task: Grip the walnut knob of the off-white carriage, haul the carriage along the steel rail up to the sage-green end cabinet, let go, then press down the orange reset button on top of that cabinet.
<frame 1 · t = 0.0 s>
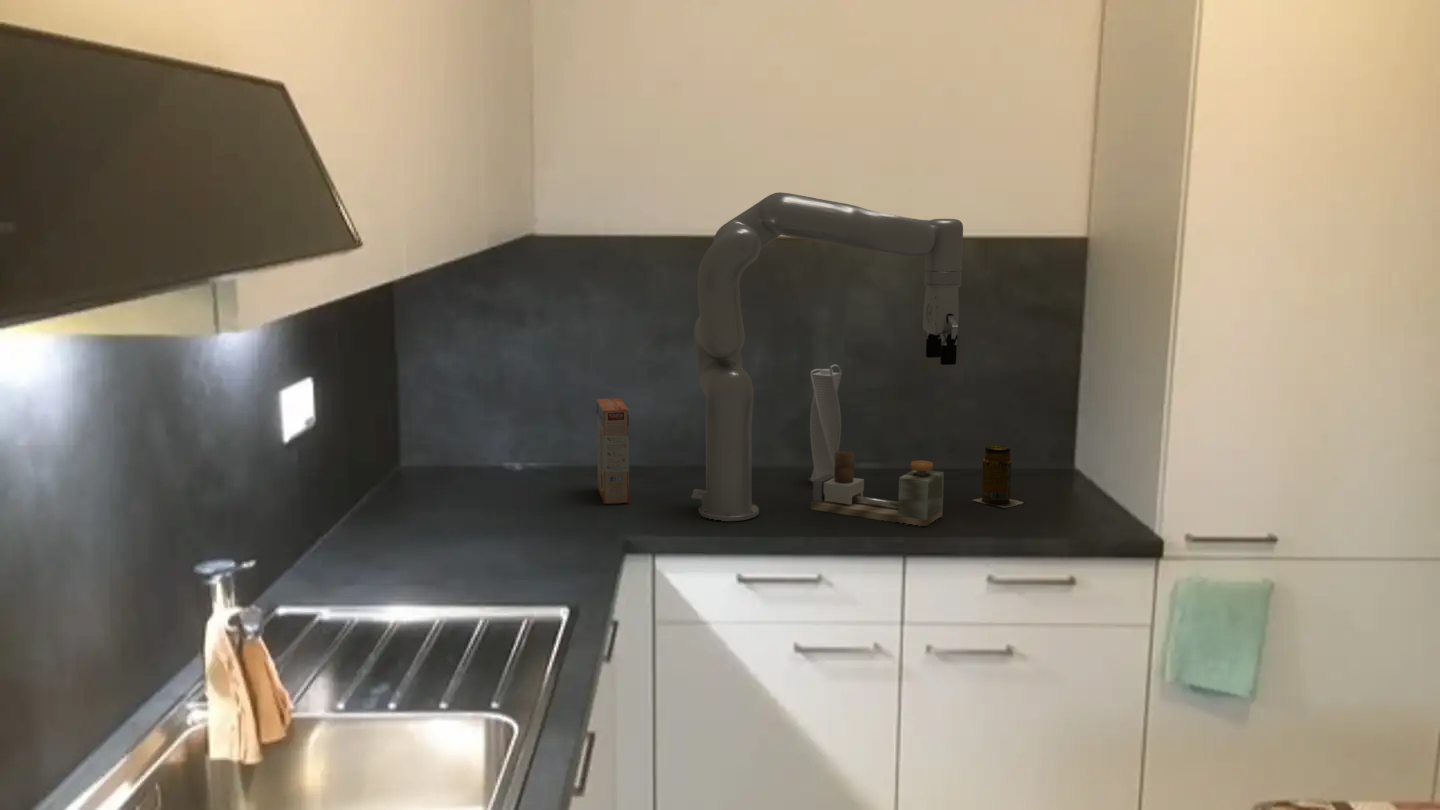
hand: (940, 360, 267), 31 cm above the worktop, fingers open, 9 cm apart
skyscraper: (826, 484, 291), on the worktop
reset button: (921, 470, 260), point 10 cm above the worktop, slide at 0.0 cm
condiment: (998, 503, 275), on the worktop
cracker box: (613, 497, 281), on the worktop
rail base: (875, 512, 267), on the worktop
carriage: (844, 476, 269), point 7 cm above the worktop, slide at 0.0 cm
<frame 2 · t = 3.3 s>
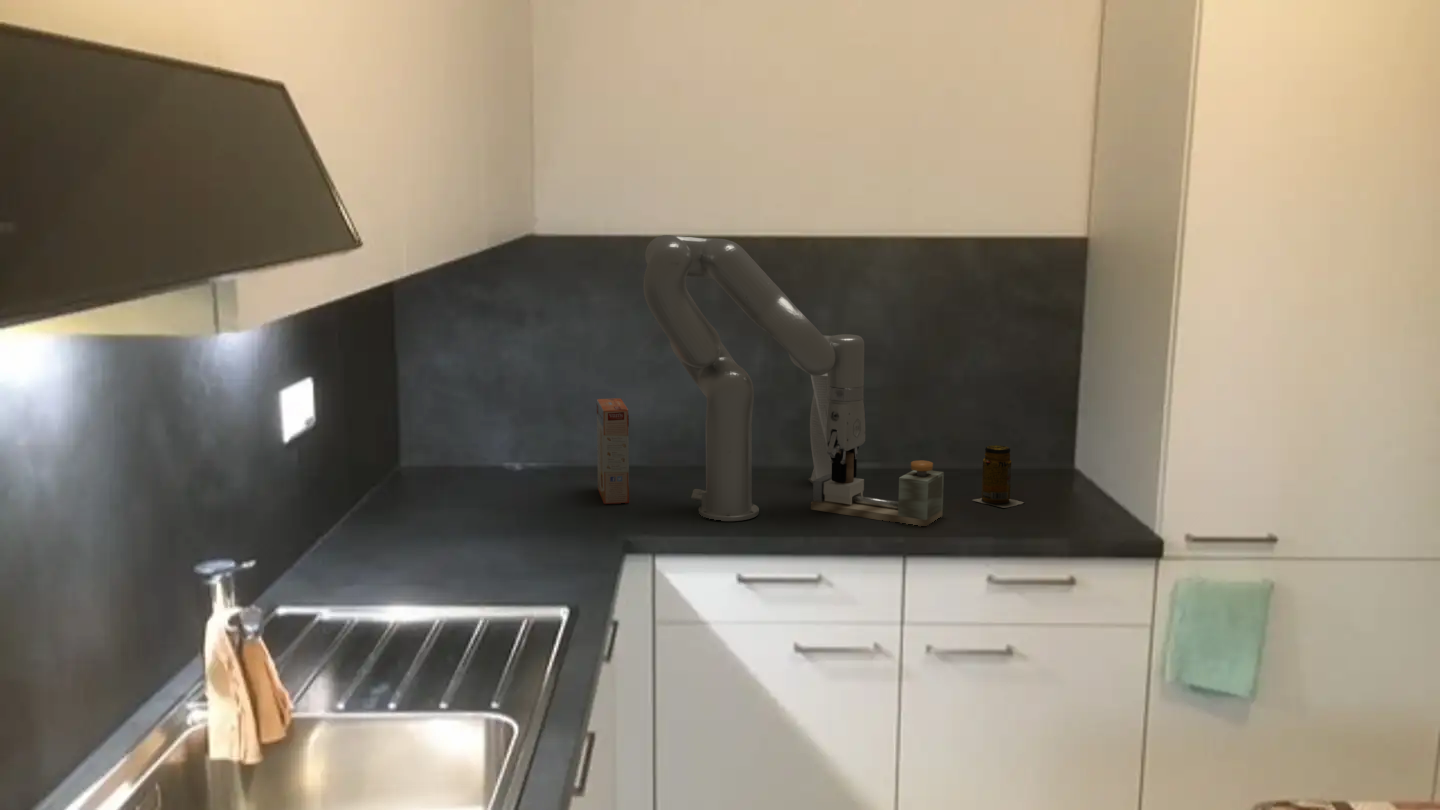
hand: (844, 478, 269), 7 cm above the worktop, fingers closed on carriage, 4 cm apart
carriage: (844, 476, 269), point 7 cm above the worktop, slide at 0.0 cm, touching gripper
everything else where it was.
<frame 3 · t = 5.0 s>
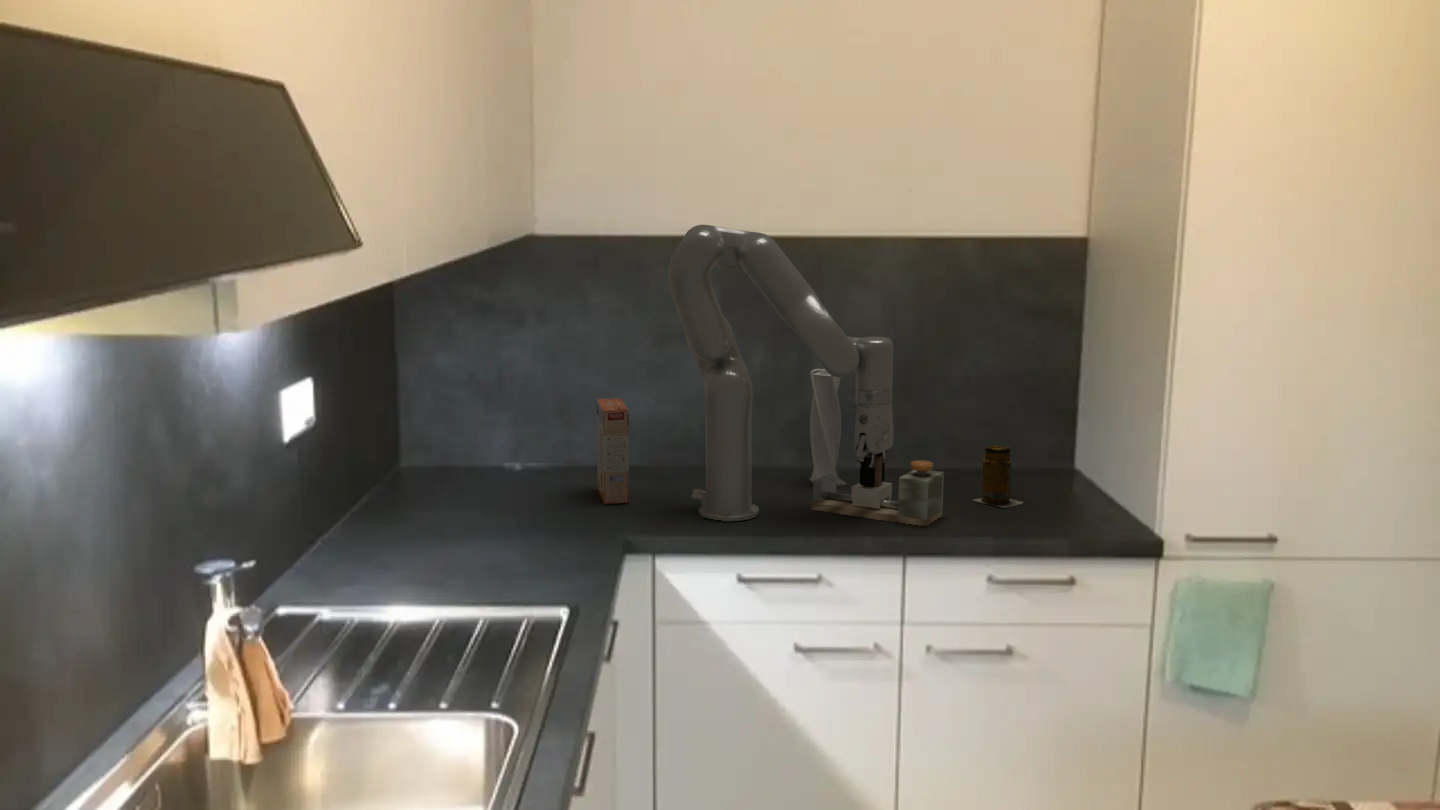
hand: (872, 482, 266), 6 cm above the worktop, fingers closed on carriage, 4 cm apart
carriage: (872, 480, 266), point 7 cm above the worktop, slide at 6.5 cm, touching gripper
everything else where it was.
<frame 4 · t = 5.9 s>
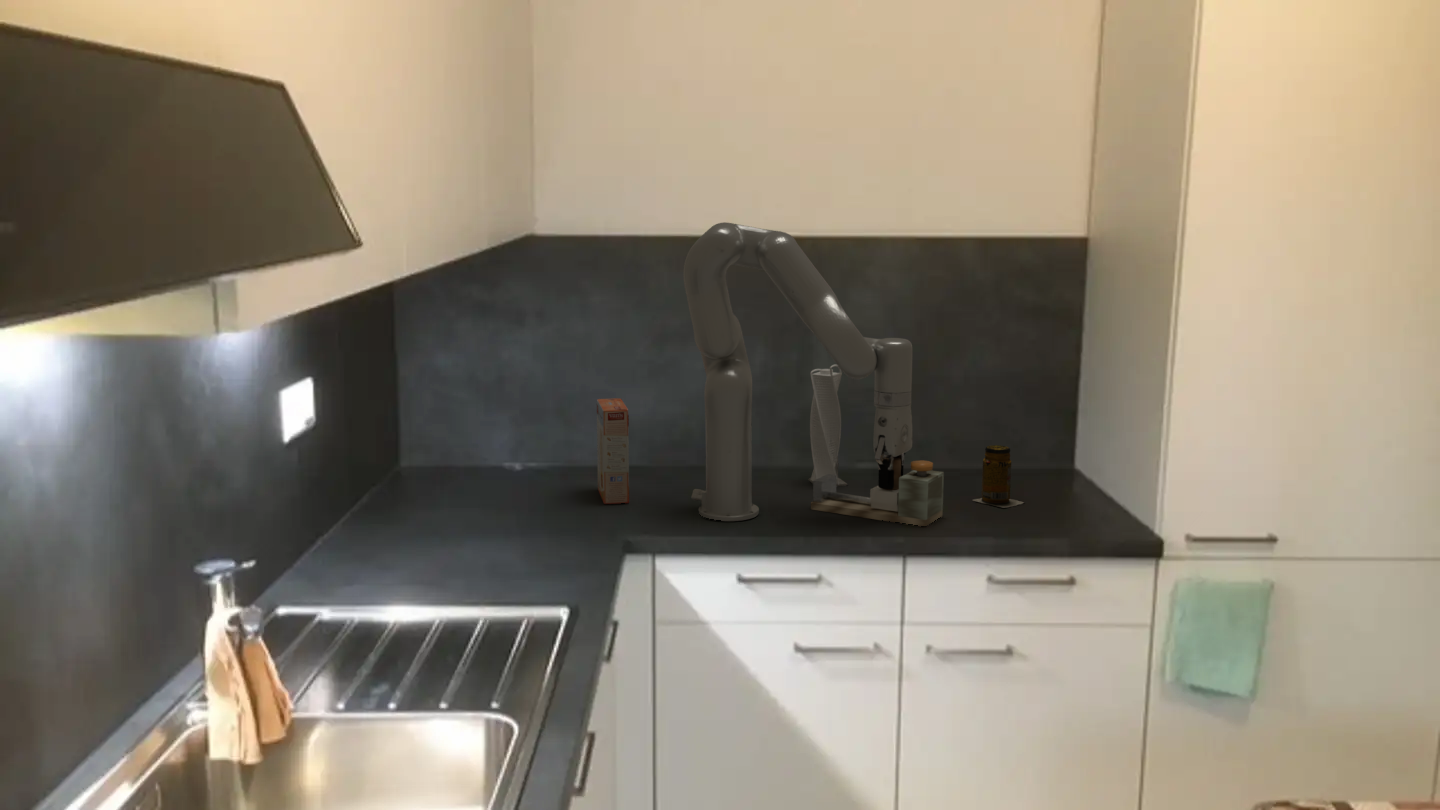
hand: (890, 484, 264), 6 cm above the worktop, fingers closed on carriage, 4 cm apart
carriage: (890, 482, 264), point 7 cm above the worktop, slide at 10.7 cm, touching gripper
everything else where it was.
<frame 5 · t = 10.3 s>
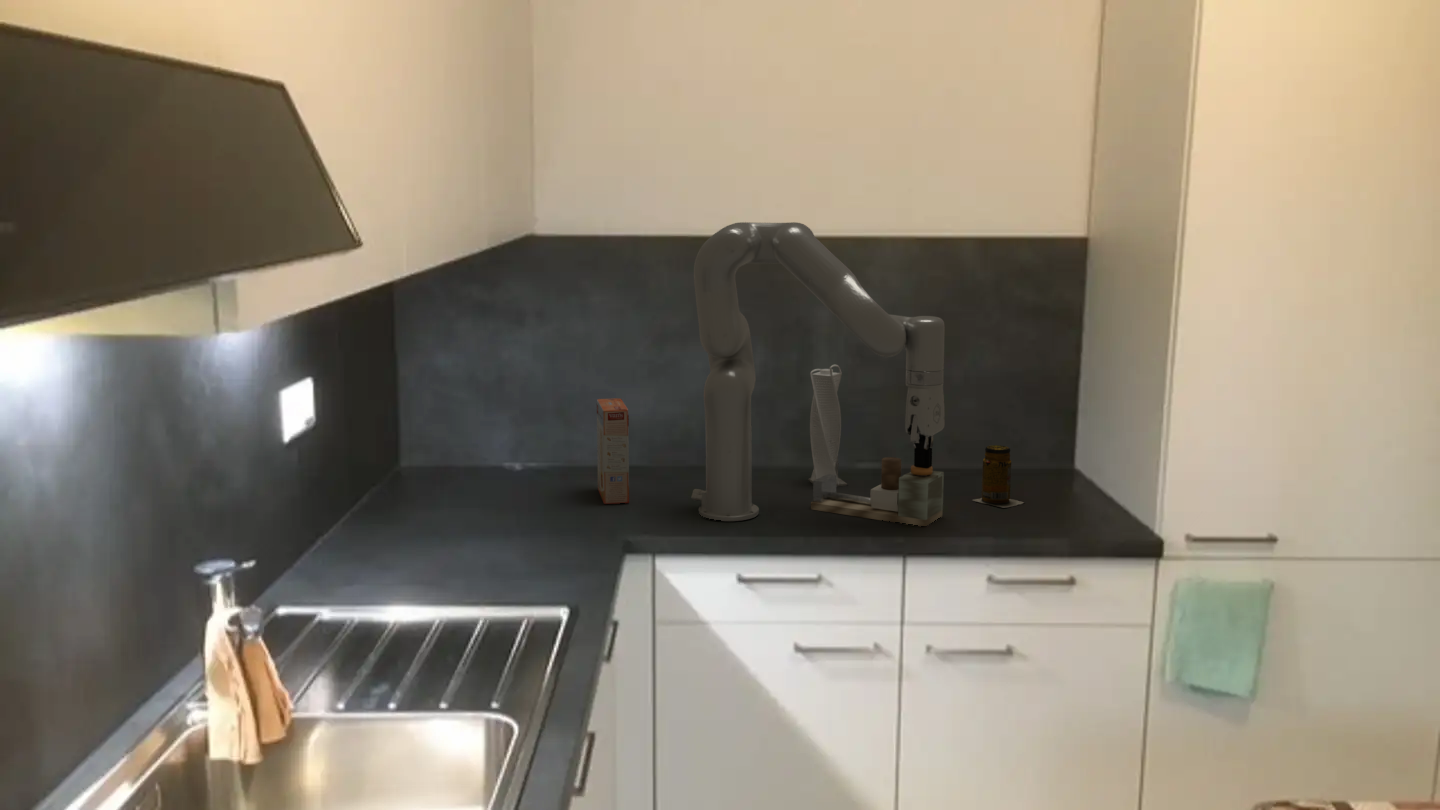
hand: (923, 466, 260), 11 cm above the worktop, fingers closed
reset button: (921, 474, 260), point 10 cm above the worktop, slide at 0.8 cm, touching gripper
carriage: (891, 482, 264), point 7 cm above the worktop, slide at 10.8 cm
everything else where it was.
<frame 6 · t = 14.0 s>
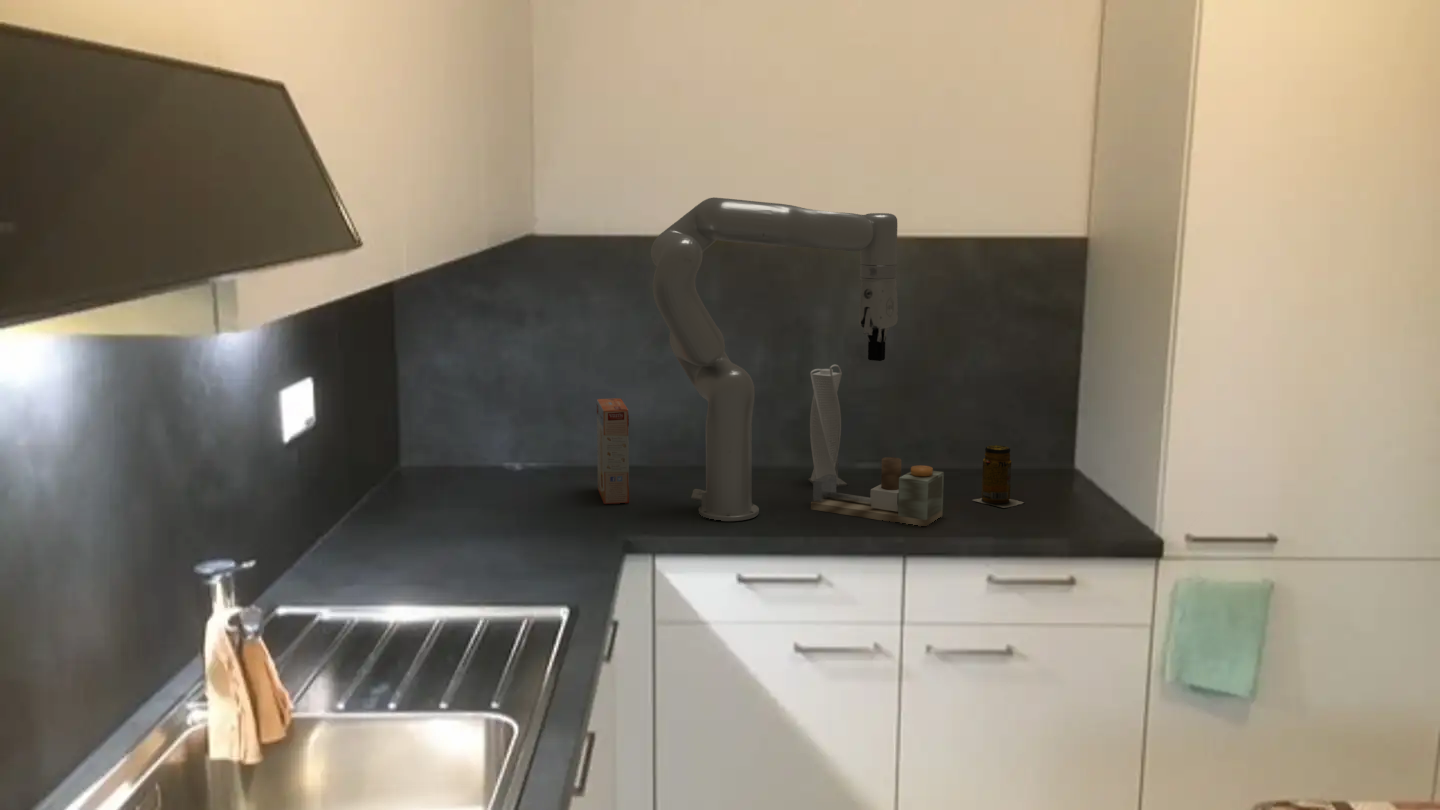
hand: (876, 359, 269), 31 cm above the worktop, fingers closed
reset button: (921, 475, 260), point 9 cm above the worktop, slide at 1.1 cm
everything else where it was.
at the end: carriage slide at 10.8 cm; reset button slide at 1.1 cm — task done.
